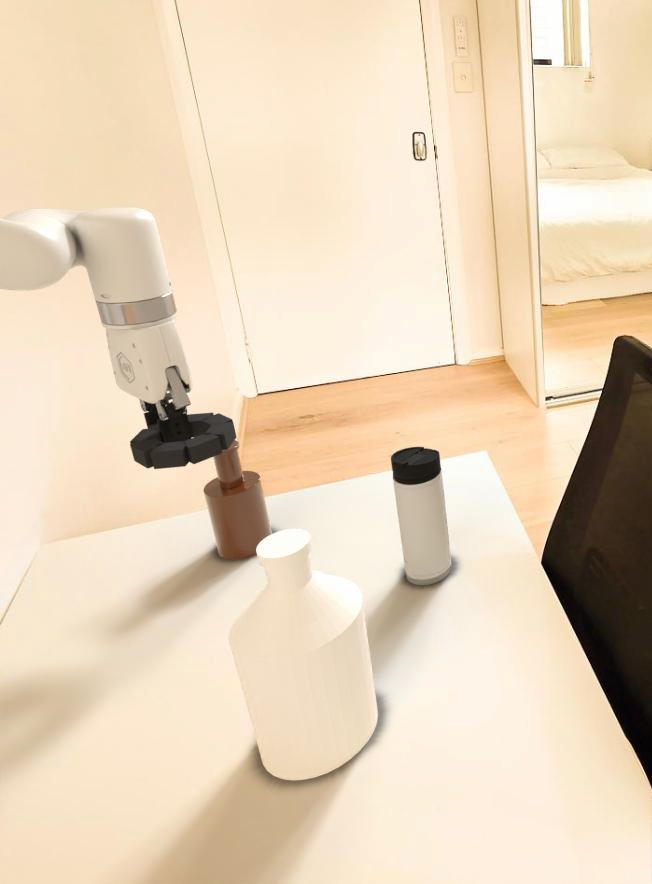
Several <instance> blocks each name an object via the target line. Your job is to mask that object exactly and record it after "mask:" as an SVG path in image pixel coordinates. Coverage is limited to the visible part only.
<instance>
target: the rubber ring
mask: <svg viewBox="0 0 652 884" xmlns="http://www.w3.org/2000/svg"><path fill="white" fill-rule="evenodd" d="M187 417H188V421H189V425H190V429H191V433H192V438H191V439H189V440H186V441H180V442H168V443H163V441H162V437H161V433H160V431H159V427H158V423H156V424H153V425H150V426H148V427H149V429H148V428H142V429H141V430H140V431H139V432H138V433H137V434H136V435H135V436H134V437H133V438H132V439H131V440H130V441H129V447H130V450H131V453H132V458H133V461H134V462H136V463H137V464H139V465H140V466H142V467H144V468H145V469H147V470H148V469H151V468H153V469H154V470H161V469H172V468H181V467H182V468H183V467H186V466H187V465H188V464H189V463H190V464H192V465H196V464H199V463H201V462H204V461H207V460H209V459H211V458H213V457H214V456H216V455H219V454H221V453H222V450H228V449H229V447H230V446H231V444H232V443H233V442H234V440H236V439H237V432H236V428H235V423H234V421H233V419H232V418H230V417H229V416H226V415H224V414H222V413H215V414H214V412H201V413H187Z"/></svg>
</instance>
